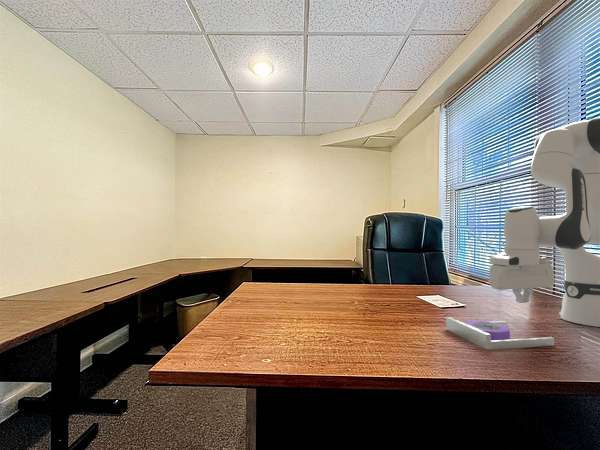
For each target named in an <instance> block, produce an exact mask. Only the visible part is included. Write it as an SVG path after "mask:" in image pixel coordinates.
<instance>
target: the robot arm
mask: <svg viewBox="0 0 600 450" xmlns="http://www.w3.org/2000/svg"><path fill="white" fill-rule="evenodd" d="M533 149H534V153H533V156H532V161H531V165H530V174H531V176H532V178H533V179H534V180H535V181H536V182H537V183H540V184H542V185H544V186H547V187H550V188H556V189H560V190H563V191H564V197H565V203H566V205H565V207H566V209H565V213H563V214H558V215H553V216H552V215H551V216H540V215H539V214H538V212H537V208H536V206H532V205H521V206H520V205H519V206H514V207H510V208H509V209H507V210H506V212H505V215H504V222H503V236H504V238H505V243H504V248H503V249H504V251H502V252H500V253H498V254H495V255H493V256H491V257H490V258H489V262H490V264H491V265H490V267H489V274H488V275H489V277H488V278H489V279H488V281H489V286H490V287H491V288H492V289H495V290H499V291H505V290H506V291H507V290H508V291H509V290H511V291H512V293H513V295H514V296H515V302H516V303H518V304H526V303H530V297H531V295H532V293H533V289H535V288H537V289H539V288H552V287H553V286H554V285H555V274H554V269H553V266H552V261H551V260H550V259H549V258H548V257H546V256H542V257H540V247H542V248H543V247H544V248H556V249H558V251H559V252H560V254H561V255H562V257H563V262H564V270H565V280H564V281H563V282H564V284H563V289H564V290H565V293H563V295H562V303H561V311H559V313H558V315H559V316H560V319H562V320H563V321H566V322H570V323H575V324H579V325H584V326H590V327H598V328H600V256H598V255H596V254H594V253H591V252H589V251H587V250H586V249H585V248H584V246H585V245H600V117H594V118H591V119H589V120H588V119H586V120H581V121H578V122H572V123H569V124H567V125H564V126H561V127H557V128H555V129H554V128H553V129H550V130H546V131H545V132H542V133H540V134H539V135H538V136H537V137H536V138H535V140H534V144H533ZM522 292H523V293H522Z"/></svg>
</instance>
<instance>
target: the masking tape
mask: <svg viewBox="0 0 600 450" xmlns="http://www.w3.org/2000/svg"><path fill="white" fill-rule="evenodd" d="M464 323H465V324H468V325H470V326H472V327H475V328H477V329H479V330H482V331H484V332H486V333H489V334H491V340H508V339H511V332H510V331H511V330H510V327H508V326H507V327H506V326H504V325H501V324H498V323H493V322H492V321H486V320H468V321H465V322H464Z"/></svg>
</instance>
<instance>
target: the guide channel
mask: <svg viewBox="0 0 600 450" xmlns="http://www.w3.org/2000/svg"><path fill="white" fill-rule="evenodd" d="M445 320H446V321H445V324H446V325H445V329H446V331H448V332H450V333H452V334H454V335H457V336H458V337H460V338H462V339H464V340H466V341H468V342H471V343H472V344H473V345H474V344H475V345H477V346H479V347H480V348H482V349H484V350H501V349H516V348H517V349H519V348H533V347H550V346H552V347H553V346H555V343H556V342H555V338H554V337H552V336H545V337H531V338H527V337H526V338H512V339H511V338H510V339H508V340H491V334H489V333H486V332H484V331H482V330H479V329H477V328H475V327H472V326H470V325H468V324H465V322H463V321H461V320H458V319H455V318H453V317H450V316H449V317H448V316H446V319H445ZM491 322H493V323H498V324H501V325H504V326H506V327H508V321H506V320H500V321H499V320H498V321H497V320H496V321H491Z"/></svg>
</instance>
